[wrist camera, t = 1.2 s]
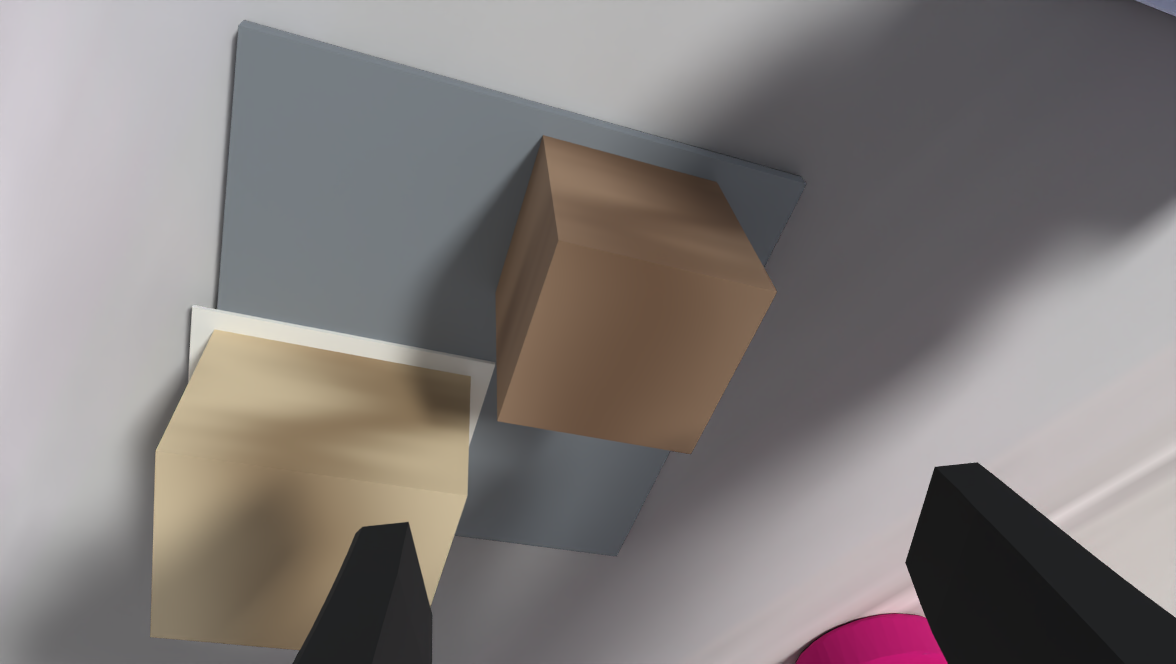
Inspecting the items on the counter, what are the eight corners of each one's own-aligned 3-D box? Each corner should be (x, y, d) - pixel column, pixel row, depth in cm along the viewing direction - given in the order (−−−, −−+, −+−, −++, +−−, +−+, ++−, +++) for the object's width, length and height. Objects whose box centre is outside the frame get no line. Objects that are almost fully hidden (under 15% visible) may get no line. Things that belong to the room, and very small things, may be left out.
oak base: (470, 376, 20) (467, 496, 17) (423, 534, 23) (412, 660, 20) (214, 329, 18) (155, 450, 15) (201, 505, 21) (150, 637, 18)
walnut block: (716, 182, 17) (777, 291, 14) (653, 326, 20) (690, 454, 16) (543, 135, 16) (558, 240, 13) (495, 292, 19) (497, 421, 15)
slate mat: (801, 176, 18) (808, 185, 18) (609, 556, 25) (611, 569, 25) (215, 11, 15) (208, 19, 14) (186, 501, 22) (180, 515, 22)
